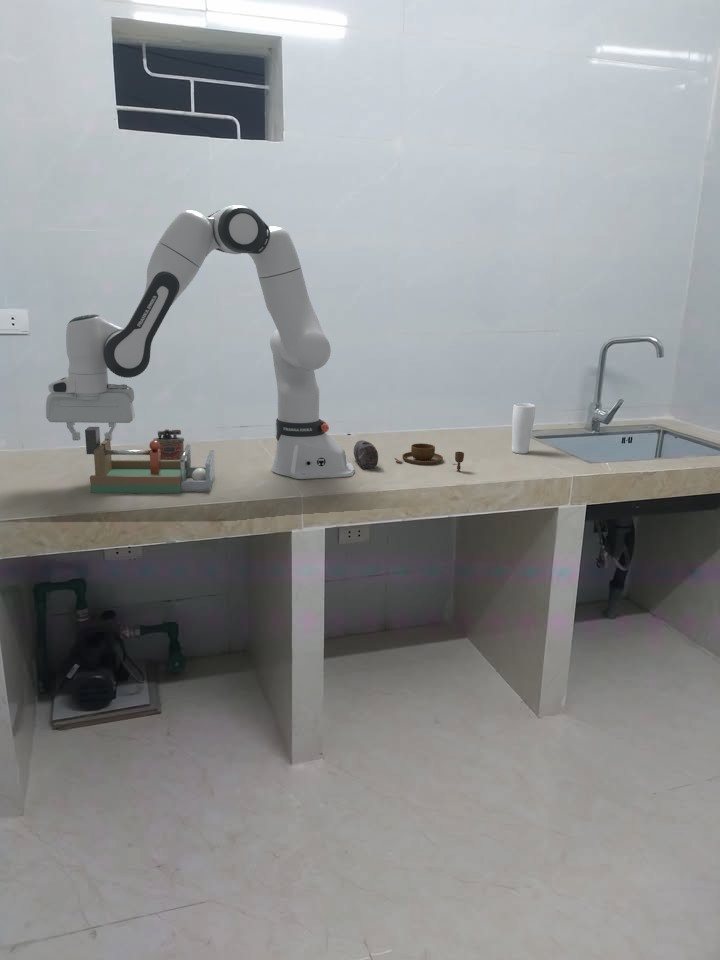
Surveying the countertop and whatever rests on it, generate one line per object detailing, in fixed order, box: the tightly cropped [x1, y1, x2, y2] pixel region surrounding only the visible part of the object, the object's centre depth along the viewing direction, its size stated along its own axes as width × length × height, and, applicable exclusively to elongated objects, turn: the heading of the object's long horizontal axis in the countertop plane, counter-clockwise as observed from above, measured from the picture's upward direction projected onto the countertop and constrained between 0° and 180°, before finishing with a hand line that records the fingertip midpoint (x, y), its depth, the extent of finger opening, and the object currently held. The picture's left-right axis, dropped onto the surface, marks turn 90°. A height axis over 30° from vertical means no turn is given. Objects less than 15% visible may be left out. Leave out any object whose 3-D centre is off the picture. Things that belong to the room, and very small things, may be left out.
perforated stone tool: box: [353, 439, 379, 469], centre depth 212 cm, size 15×5×7 cm, turn 13°
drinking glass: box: [511, 402, 536, 455], centre depth 231 cm, size 7×7×15 cm
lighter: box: [152, 428, 185, 460], centre depth 203 cm, size 8×3×10 cm, turn 105°
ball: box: [191, 468, 206, 481], centre depth 188 cm, size 4×4×4 cm
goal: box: [180, 443, 216, 493], centre depth 187 cm, size 7×14×8 cm, turn 6°
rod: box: [84, 426, 161, 474], centre depth 184 cm, size 17×4×11 cm, turn 96°
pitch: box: [89, 439, 188, 494], centre depth 185 cm, size 21×16×10 cm
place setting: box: [394, 443, 465, 473], centre depth 215 cm, size 18×20×6 cm
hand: (92, 440), depth 182 cm, fingers open, 6 cm apart
